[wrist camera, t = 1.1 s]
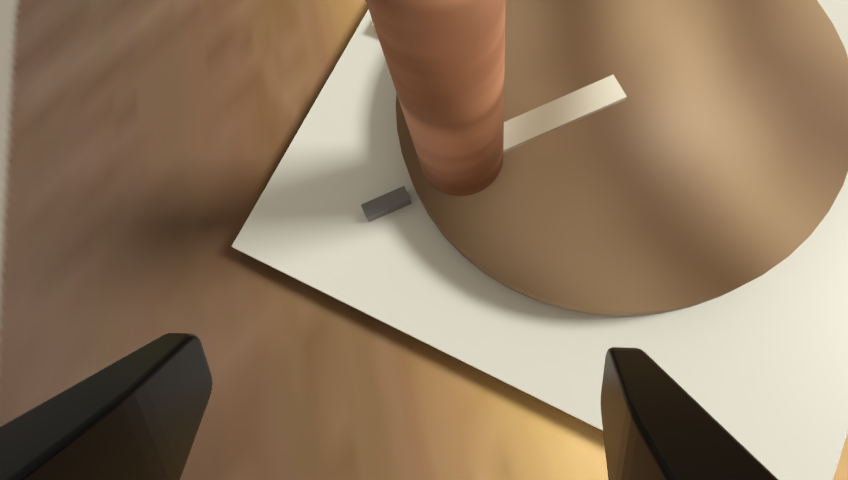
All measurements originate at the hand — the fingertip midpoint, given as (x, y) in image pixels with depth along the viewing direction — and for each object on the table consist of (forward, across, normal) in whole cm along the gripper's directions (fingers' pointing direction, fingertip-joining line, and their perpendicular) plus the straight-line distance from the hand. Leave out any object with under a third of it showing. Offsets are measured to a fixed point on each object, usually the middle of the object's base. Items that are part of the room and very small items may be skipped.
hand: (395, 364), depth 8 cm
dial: (+16, -5, +1) cm, 17 cm away
